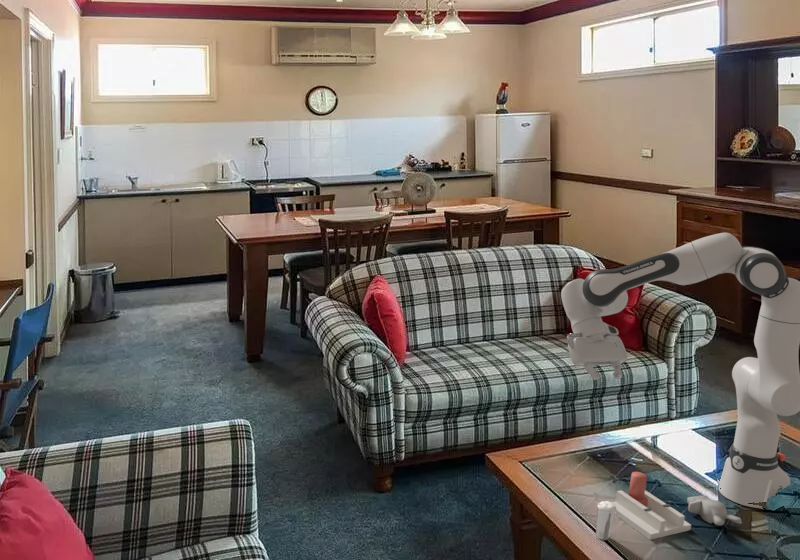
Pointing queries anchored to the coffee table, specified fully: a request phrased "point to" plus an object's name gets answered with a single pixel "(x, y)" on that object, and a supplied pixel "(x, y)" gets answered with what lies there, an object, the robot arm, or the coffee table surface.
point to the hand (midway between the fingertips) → (607, 378)
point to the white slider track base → (650, 516)
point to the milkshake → (605, 519)
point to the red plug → (638, 487)
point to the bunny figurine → (710, 510)
